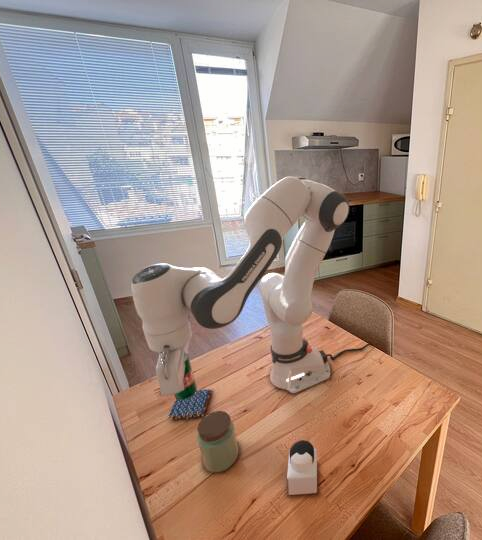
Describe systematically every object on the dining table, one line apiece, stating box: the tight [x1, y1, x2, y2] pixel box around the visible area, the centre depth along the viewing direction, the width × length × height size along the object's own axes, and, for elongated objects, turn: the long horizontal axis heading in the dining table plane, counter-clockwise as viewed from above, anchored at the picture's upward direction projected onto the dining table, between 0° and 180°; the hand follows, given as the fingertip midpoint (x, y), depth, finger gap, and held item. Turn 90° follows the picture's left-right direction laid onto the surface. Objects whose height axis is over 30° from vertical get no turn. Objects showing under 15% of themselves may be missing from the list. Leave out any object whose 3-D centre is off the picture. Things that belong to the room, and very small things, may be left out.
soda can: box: [173, 352, 198, 400], centre depth 72 cm, size 5×5×12 cm
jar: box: [196, 410, 239, 473], centre depth 79 cm, size 9×9×13 cm
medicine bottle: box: [286, 439, 318, 496], centre depth 74 cm, size 7×7×12 cm
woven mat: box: [168, 388, 212, 420], centre depth 96 cm, size 10×11×2 cm
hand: (182, 379), depth 72 cm, fingers closed on soda can, 5 cm apart
